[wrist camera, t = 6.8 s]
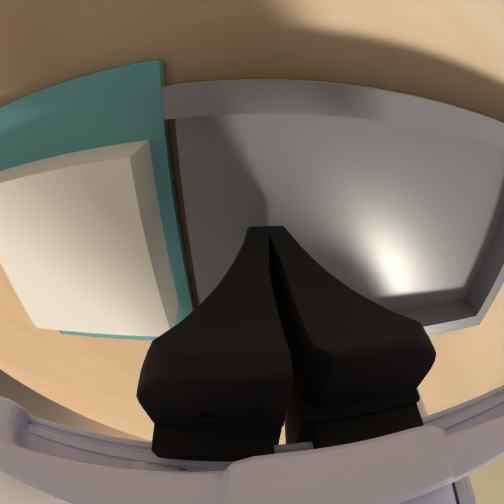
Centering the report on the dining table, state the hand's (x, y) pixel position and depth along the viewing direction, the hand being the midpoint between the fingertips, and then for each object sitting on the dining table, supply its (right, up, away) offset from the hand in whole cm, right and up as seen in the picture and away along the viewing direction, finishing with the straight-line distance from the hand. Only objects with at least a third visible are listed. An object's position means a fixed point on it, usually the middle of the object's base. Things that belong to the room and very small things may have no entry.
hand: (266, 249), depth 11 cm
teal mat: (-8, +1, +1) cm, 9 cm away
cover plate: (-8, +1, +1) cm, 8 cm away
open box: (+5, +1, +2) cm, 6 cm away
